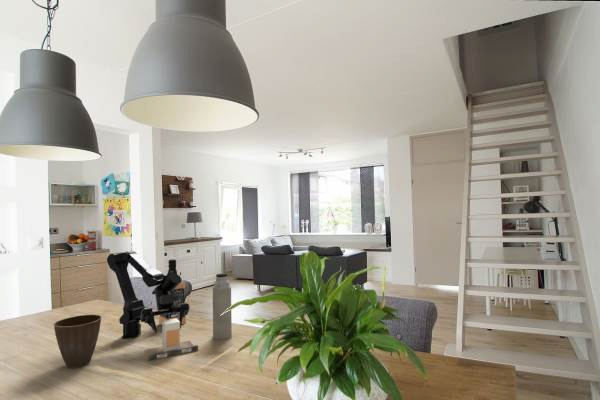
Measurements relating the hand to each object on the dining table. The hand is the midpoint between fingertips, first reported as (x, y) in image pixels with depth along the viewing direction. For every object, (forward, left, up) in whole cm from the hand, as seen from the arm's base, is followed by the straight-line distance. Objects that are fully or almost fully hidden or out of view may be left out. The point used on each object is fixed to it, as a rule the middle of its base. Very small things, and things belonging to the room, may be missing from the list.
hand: (168, 330), depth 143 cm
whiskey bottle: (-8, +37, -8) cm, 39 cm away
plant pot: (-30, -9, -8) cm, 32 cm away
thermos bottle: (+20, +11, -8) cm, 24 cm away
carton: (+2, -3, -7) cm, 8 cm away
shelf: (+1, -3, -8) cm, 8 cm away
